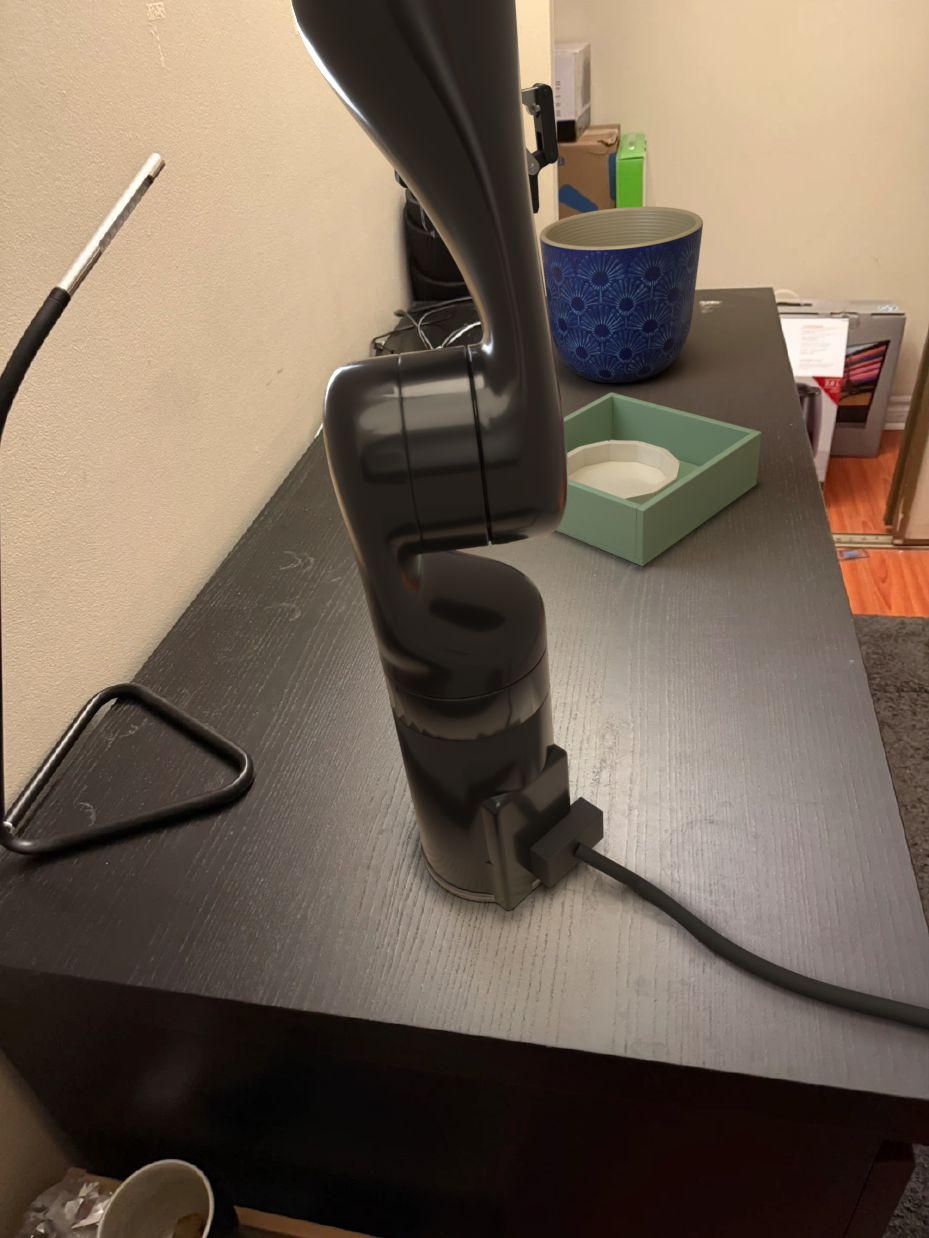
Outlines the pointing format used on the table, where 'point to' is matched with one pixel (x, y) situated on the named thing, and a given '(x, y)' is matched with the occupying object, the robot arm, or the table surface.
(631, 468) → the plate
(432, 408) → the robot arm
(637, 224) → the planter
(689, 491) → the tote
